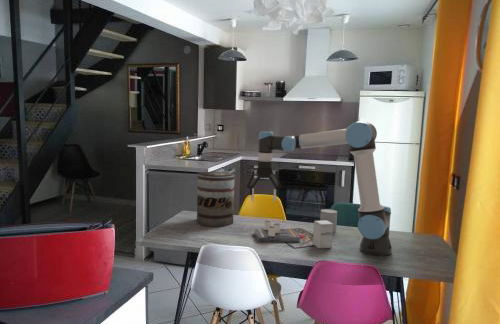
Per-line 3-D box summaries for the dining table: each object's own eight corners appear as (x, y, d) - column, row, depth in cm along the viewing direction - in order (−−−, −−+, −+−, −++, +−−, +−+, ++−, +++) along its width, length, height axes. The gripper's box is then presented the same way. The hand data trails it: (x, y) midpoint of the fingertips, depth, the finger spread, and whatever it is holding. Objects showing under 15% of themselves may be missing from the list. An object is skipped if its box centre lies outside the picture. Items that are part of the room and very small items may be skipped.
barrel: (191, 225, 218) (192, 175, 214) (203, 216, 240) (204, 170, 236) (227, 228, 213) (229, 177, 210) (236, 218, 235) (238, 172, 232)
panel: (299, 241, 193) (300, 236, 193) (258, 242, 190) (259, 237, 190) (292, 233, 208) (292, 228, 207) (254, 233, 205) (254, 229, 204)
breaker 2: (274, 236, 191) (275, 227, 191) (268, 236, 191) (269, 227, 191) (273, 234, 194) (274, 226, 194) (268, 234, 194) (268, 226, 193)
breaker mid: (280, 233, 197) (280, 224, 197) (274, 233, 197) (274, 224, 197) (279, 231, 200) (279, 223, 200) (273, 231, 200) (273, 223, 199)
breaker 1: (270, 230, 202) (271, 221, 202) (265, 230, 202) (265, 221, 201) (269, 228, 205) (270, 220, 204) (264, 228, 204) (264, 220, 204)
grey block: (337, 234, 209) (339, 213, 208) (321, 233, 209) (322, 212, 208) (334, 229, 218) (335, 209, 217) (318, 228, 219) (319, 208, 217)
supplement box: (319, 248, 183) (320, 224, 182) (312, 244, 190) (313, 220, 189) (332, 247, 185) (333, 223, 184) (325, 243, 192) (326, 219, 191)
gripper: (285, 160, 199) (283, 199, 201) (241, 159, 195) (240, 199, 198) (288, 161, 191) (286, 202, 194) (243, 160, 188) (242, 202, 190)
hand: (263, 201), depth 196 cm, fingers open, 11 cm apart
